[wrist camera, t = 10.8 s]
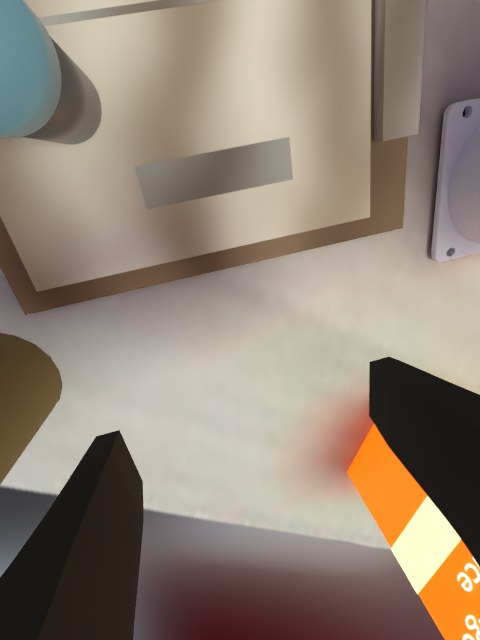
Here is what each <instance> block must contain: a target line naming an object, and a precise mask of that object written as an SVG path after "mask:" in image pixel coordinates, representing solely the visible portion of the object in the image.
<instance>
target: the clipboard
mask: <svg viewBox="0 0 480 640" xmlns="http://www.w3.org/2000/svg"><path fill="white" fill-rule="evenodd" d="M24 1H25V2H26V3H27V5H28V6H29V7H30V8H31V9H32V10H33V12H34V13H35V14H36V15H37V17H38V18H39V19H40V21H41V22H42V24H43V25H44V27H45V28H46V30H47V32H48V34H49V36H50V37H51V38H52V39H53V40H54V41H55V42H56V43H57V44H58V45H59V46H60V47H61V49H62V50H63V51H64V52H65V53H66V54H67V55H68V56H69V57H70V58H71V59H72V60H73V62H74V63H75V64H76V65H77V66H78V67H79V68H80V69H81V70H82V71H83V72H84V73H85V75H86V76H87V77H88V78H89V79H90V80H91V82H92V83H93V85H94V86H95V88H96V90H97V92H98V95H99V98H100V102H101V108H102V116H101V122H100V125H99V127H98V129H97V131H96V133H95V134H94V135H93V136H92V137H91V138H90V139H88V140H87V141H85V142H82V143H79V144H63V143H56V142H50V141H44V140H38V139H31V138H25V137H19V138H11V139H9V138H0V267H1V269H2V271H3V272H4V274H5V276H6V278H7V280H8V282H9V284H10V286H11V288H12V290H13V292H14V294H15V296H16V298H17V300H18V302H19V303H20V305H21V307H22V309H23V311H24V313H25V315H26V314H31V313H35V312H40V311H44V310H48V309H53V308H57V307H61V306H66V305H70V304H74V303H79V302H83V301H87V300H92V299H96V298H100V297H105V296H109V295H113V294H118V293H122V292H126V291H131V290H135V289H139V288H144V287H148V286H152V285H157V284H161V283H165V282H170V281H174V280H178V279H183V278H187V277H191V276H196V275H200V274H204V273H209V272H213V271H218V270H222V269H226V268H231V267H235V266H239V265H244V264H248V263H252V262H257V261H261V260H265V259H270V258H274V257H278V256H283V255H287V254H291V253H296V252H300V251H304V250H309V249H313V248H317V247H322V246H326V245H330V244H335V243H339V242H343V241H348V240H352V239H356V238H361V237H365V236H369V235H374V234H378V233H383V232H387V231H391V230H396V229H400V228H403V215H404V195H405V175H406V155H407V136H412V135H417V134H419V118H420V102H421V86H422V70H423V54H424V38H425V22H426V6H427V0H24Z"/></svg>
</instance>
